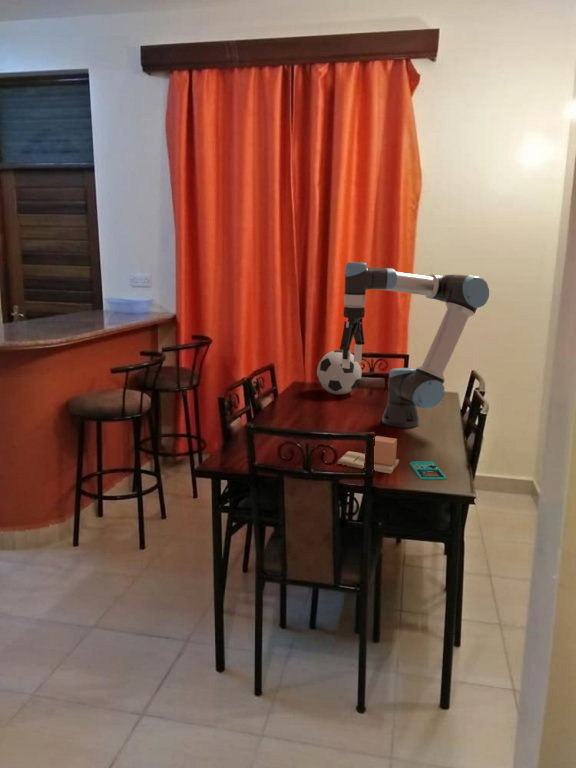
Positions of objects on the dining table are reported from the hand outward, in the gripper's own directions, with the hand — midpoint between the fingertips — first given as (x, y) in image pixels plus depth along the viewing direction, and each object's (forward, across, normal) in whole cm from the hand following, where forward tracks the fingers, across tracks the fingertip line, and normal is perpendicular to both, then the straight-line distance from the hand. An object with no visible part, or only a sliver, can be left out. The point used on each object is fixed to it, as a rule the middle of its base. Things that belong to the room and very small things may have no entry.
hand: (351, 365), depth 210 cm
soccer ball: (+29, -67, -28) cm, 78 cm away
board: (+29, +20, +14) cm, 38 cm away
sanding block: (+28, +20, +19) cm, 39 cm away
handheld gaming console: (+29, +18, +33) cm, 48 cm away
